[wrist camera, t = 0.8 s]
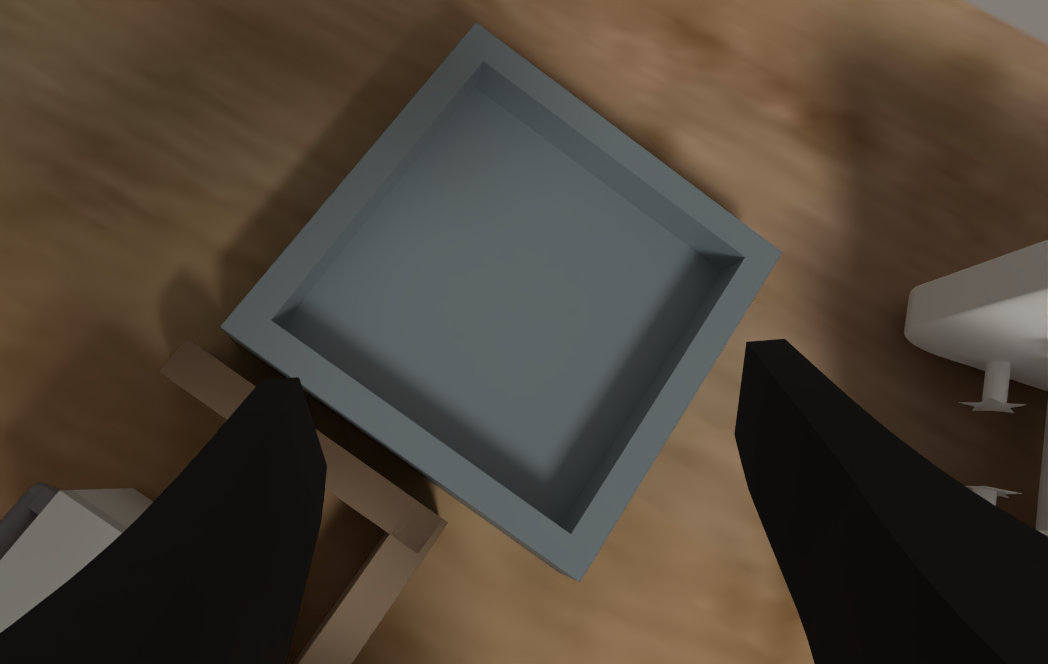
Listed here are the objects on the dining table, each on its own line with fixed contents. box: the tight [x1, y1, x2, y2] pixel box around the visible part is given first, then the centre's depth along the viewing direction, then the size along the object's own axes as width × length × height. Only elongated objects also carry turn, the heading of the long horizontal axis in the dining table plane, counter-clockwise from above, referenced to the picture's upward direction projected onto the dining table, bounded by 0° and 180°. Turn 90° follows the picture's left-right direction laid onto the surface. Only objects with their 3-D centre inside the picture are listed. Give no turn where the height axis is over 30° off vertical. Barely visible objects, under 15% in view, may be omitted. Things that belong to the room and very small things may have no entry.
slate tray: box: [220, 22, 782, 582], centre depth 26 cm, size 13×13×2 cm
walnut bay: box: [158, 338, 448, 664], centre depth 22 cm, size 13×9×2 cm
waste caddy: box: [0, 483, 153, 633], centre depth 20 cm, size 4×7×6 cm, turn 55°
